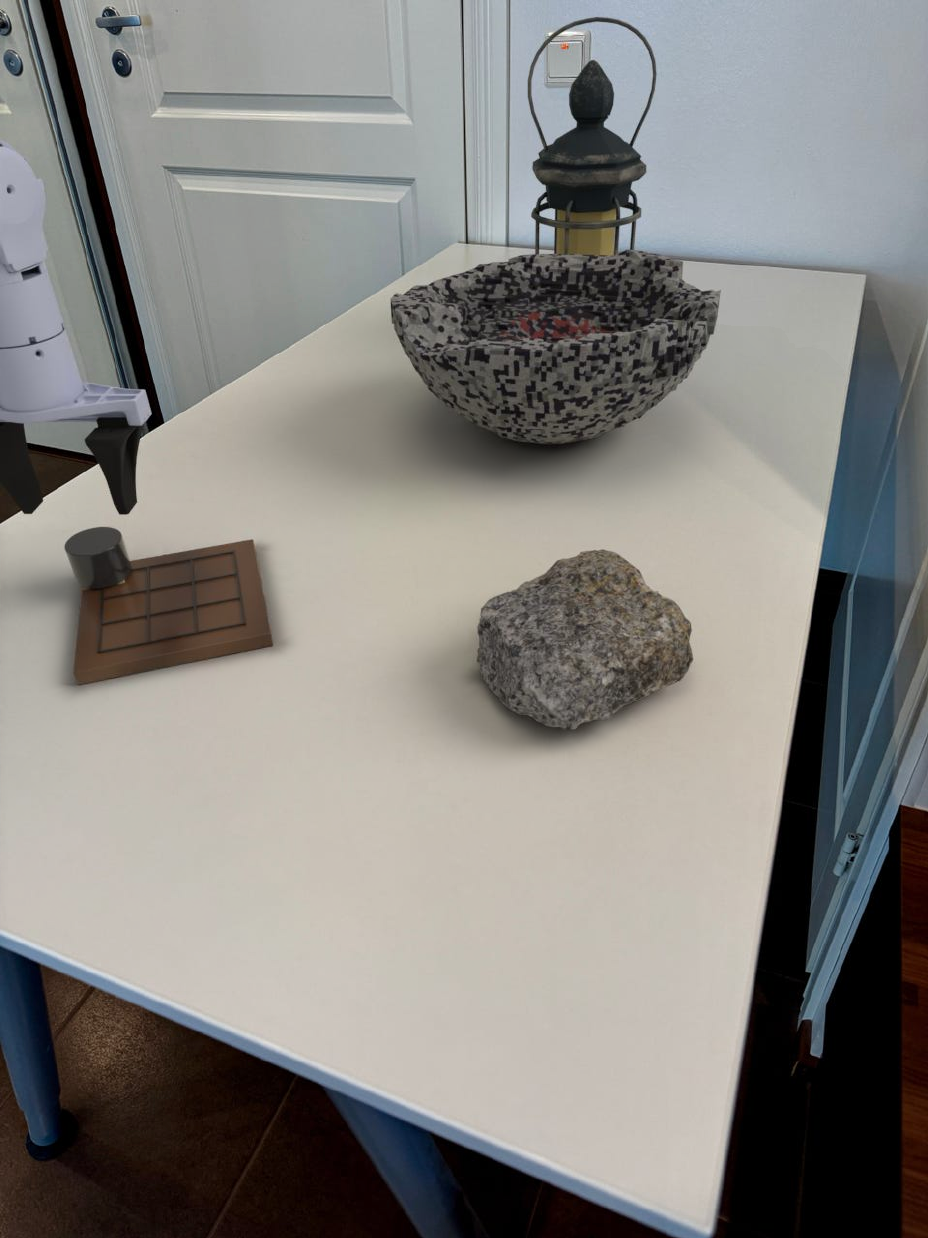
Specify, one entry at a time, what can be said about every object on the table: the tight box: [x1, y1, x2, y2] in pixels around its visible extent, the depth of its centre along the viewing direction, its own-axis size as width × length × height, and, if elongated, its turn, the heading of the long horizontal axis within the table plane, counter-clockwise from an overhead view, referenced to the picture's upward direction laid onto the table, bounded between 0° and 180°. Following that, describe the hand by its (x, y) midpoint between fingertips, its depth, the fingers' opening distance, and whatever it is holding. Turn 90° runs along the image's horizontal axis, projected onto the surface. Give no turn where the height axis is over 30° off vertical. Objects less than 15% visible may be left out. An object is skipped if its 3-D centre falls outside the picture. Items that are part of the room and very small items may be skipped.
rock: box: [476, 548, 694, 730], centre depth 61 cm, size 13×6×15 cm
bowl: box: [389, 248, 722, 445], centre depth 90 cm, size 31×31×15 cm
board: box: [72, 538, 274, 686], centre depth 69 cm, size 14×14×1 cm
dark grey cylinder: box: [64, 526, 132, 589], centre depth 71 cm, size 4×4×3 cm
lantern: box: [527, 16, 658, 255], centre depth 104 cm, size 14×13×35 cm
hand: (80, 507), depth 68 cm, fingers open, 7 cm apart
